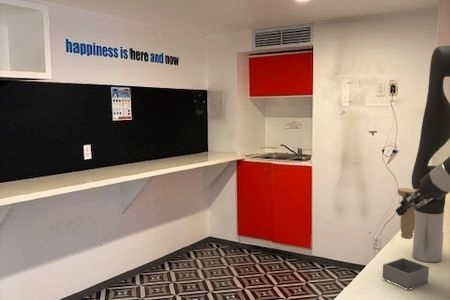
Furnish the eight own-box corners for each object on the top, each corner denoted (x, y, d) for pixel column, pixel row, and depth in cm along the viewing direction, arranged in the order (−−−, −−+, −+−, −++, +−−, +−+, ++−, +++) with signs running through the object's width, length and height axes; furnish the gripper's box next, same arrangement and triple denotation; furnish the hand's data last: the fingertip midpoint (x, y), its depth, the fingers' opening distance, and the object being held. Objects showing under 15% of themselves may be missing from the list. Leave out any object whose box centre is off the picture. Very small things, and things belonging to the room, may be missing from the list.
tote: (402, 272, 139) (402, 257, 138) (427, 282, 131) (428, 267, 130) (382, 279, 133) (383, 264, 133) (408, 290, 126) (409, 274, 125)
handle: (398, 233, 134) (400, 187, 132) (419, 237, 131) (422, 190, 129) (393, 237, 130) (395, 190, 129) (416, 242, 127) (418, 193, 125)
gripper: (447, 167, 125) (408, 198, 137) (418, 172, 118) (380, 205, 129) (464, 187, 121) (423, 218, 133) (435, 194, 114) (394, 226, 126)
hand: (402, 212), depth 131 cm, fingers closed on handle, 3 cm apart
